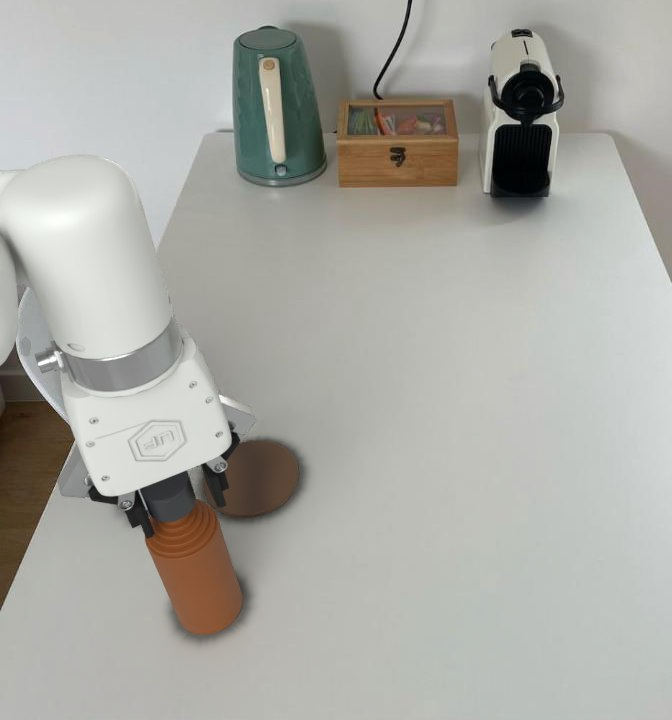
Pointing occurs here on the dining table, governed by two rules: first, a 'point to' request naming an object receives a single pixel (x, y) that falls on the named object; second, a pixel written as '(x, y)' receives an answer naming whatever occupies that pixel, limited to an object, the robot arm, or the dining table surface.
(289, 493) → the coaster
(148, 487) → the cap
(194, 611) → the sauce bottle
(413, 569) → the dining table surface
